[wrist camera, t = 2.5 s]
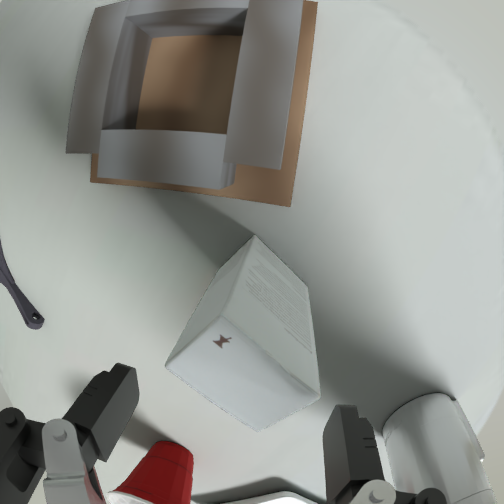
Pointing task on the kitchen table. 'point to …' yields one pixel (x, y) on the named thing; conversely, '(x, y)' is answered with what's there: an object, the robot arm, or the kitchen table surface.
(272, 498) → the salad plate
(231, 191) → the holder
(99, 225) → the kitchen table surface
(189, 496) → the plastic cup
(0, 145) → the kitchen table surface
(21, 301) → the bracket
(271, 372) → the skincare box
